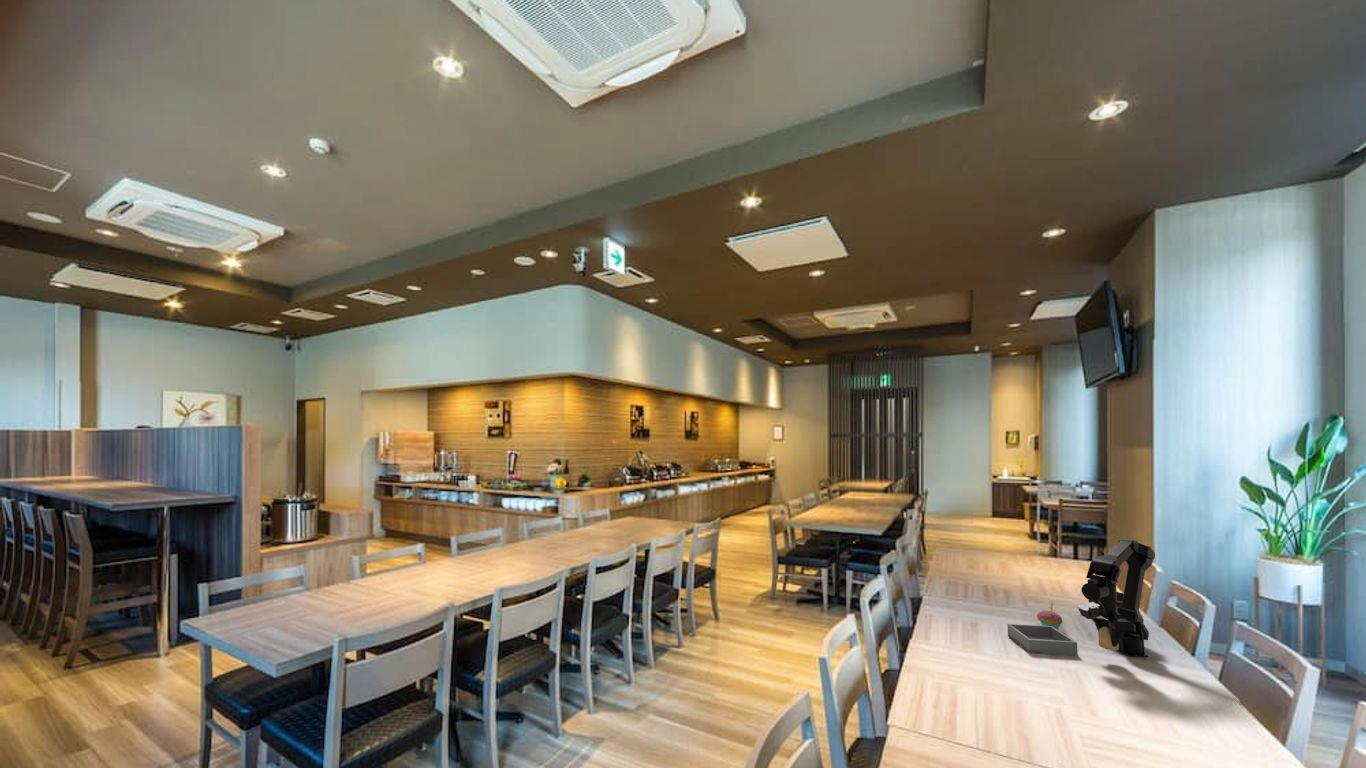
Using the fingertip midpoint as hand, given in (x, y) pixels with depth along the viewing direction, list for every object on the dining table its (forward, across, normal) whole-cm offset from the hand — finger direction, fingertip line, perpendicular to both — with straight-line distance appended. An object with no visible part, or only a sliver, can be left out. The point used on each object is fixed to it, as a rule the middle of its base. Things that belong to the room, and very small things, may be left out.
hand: (1108, 643), depth 186 cm
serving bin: (+6, -12, -16) cm, 21 cm away
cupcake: (+6, -29, -4) cm, 30 cm away
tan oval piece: (+1, 0, 0) cm, 1 cm away
